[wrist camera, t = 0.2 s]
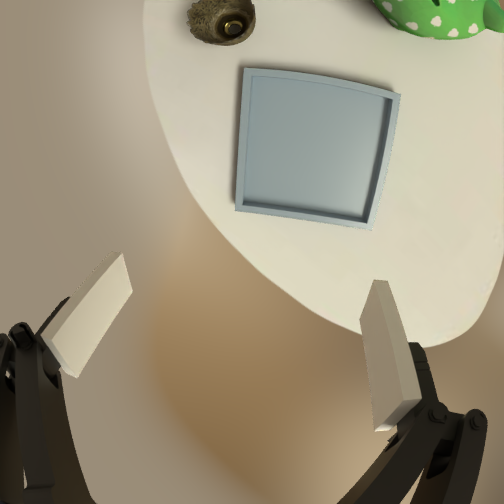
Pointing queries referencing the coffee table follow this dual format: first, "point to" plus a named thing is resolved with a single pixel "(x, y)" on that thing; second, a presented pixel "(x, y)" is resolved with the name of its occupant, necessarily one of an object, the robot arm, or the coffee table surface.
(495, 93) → the coffee table surface
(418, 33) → the piggy bank
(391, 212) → the coffee table surface
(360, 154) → the tray
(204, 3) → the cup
